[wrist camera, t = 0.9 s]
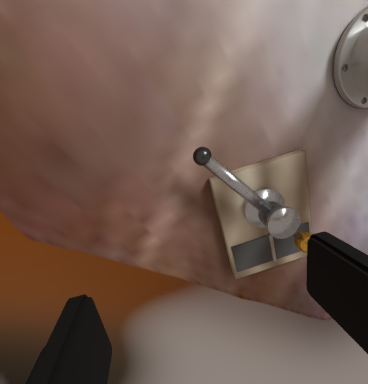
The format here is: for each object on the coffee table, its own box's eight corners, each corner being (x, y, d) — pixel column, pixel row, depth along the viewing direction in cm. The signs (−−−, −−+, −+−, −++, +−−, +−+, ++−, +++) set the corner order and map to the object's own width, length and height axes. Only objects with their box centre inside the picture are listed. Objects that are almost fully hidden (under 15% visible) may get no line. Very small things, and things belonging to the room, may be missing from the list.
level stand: (298, 149, 30) (307, 151, 28) (307, 248, 36) (315, 254, 34) (208, 178, 30) (211, 181, 28) (232, 273, 35) (236, 281, 34)
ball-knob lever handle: (315, 225, 32) (338, 239, 28) (288, 252, 33) (307, 270, 29) (207, 129, 25) (217, 130, 21) (177, 167, 26) (181, 174, 22)
